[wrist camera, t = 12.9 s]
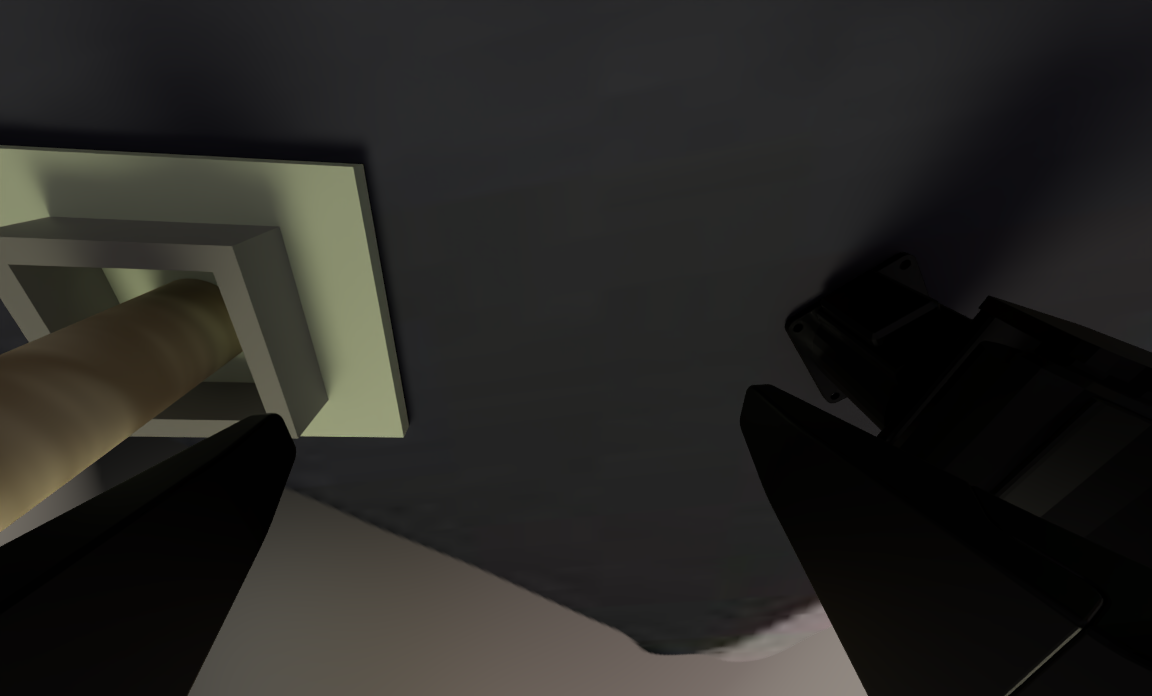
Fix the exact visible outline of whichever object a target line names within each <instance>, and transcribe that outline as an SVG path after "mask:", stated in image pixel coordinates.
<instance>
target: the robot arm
mask: <svg viewBox="0 0 1152 696" xmlns="http://www.w3.org/2000/svg"><path fill="white" fill-rule="evenodd" d="M904 260H905V262H904V264H903V265H902V266H900V264H901V263H902V262H903V261H904ZM979 309H981V310H980V311H979V313H978V314H977V315H976V316H975V318H974V319H973V320H972V319H970V318H968V317H966V316H964V315H962V314H960V313H958V312H956V311H954V310H952V309H950V308H948V307H946V306H944V305H942V304H940V303H939V302H938V301H936V300H934V299H932V298H930V297H929V295H928V292H927V289H926V287H925V284H924V281H923V278H922V275H921V272H920V269H919V266H918V263H917V260H916V258H915V257H914V256H913V255H910V254H908V253H905V252H902V253H898V254H896V255H895V256H893V257H891V258H890V259H888V260H886V261H885V262H883V263H881V264H880V265H878V266H876V267H875V268H873V269H871V270H869V271H867V272H866V273H864V274H862V275H861V276H859V277H857V278H856V279H854V280H852V281H851V282H849V283H847V284H846V285H844V286H842V287H841V288H839V289H837V290H836V291H834V292H832V293H831V294H829V295H827V296H826V297H824V298H823V299H821V300H820V301H818V302H816V303H815V304H813V305H811V306H810V307H808V308H806V309H804V310H803V311H801V312H799V313H798V314H796V315H794V316H793V317H791V318H790V319H789V320H787V322H786V323H785V330H786V332H787V333H788V335H789V337H790V339H791V341H792V342H793V344H794V346H795V348H796V350H797V351H798V353H799V355H800V357H801V358H802V360H803V362H804V364H805V366H806V367H807V369H808V371H809V373H810V375H811V376H812V378H813V380H814V382H815V383H816V385H817V387H818V389H819V391H820V392H821V394H822V396H823V397H824V398H825V399H826V400H827V401H828V402H829V403H836V402H839V401H840V400H842V399H844V398H846V397H848V398H849V399H850V400H851V401H852V402H853V403H854V404H855V405H856V406H857V407H858V408H859V409H860V410H861V411H862V412H863V413H864V414H865V415H866V416H867V417H868V418H869V419H870V420H871V421H872V422H873V423H874V424H875V425H876V426H877V427H878V428H879V429H880V430H882V431H881V432H880V433H879V434H878V436H877V437H876V436H874V435H872V434H870V433H868V432H866V431H864V430H862V429H860V428H858V427H856V426H853V425H851V424H849V423H847V422H845V421H843V420H841V419H839V418H837V417H835V416H833V415H831V414H829V413H827V412H825V411H823V410H821V409H819V408H817V407H815V406H813V405H811V404H809V403H807V402H805V401H803V400H801V399H799V398H797V397H795V396H793V395H791V394H789V393H787V392H785V391H783V390H781V389H779V388H777V387H775V386H773V385H769V384H764V385H751V386H750V387H749V388H748V389H747V391H746V395H745V399H744V403H743V407H742V412H741V416H740V426H741V430H742V433H743V435H744V438H745V441H746V443H747V446H748V449H749V451H750V454H751V457H752V459H753V462H754V464H755V467H756V470H757V472H758V475H759V478H760V480H761V483H762V486H763V488H764V490H765V493H766V495H767V497H768V499H769V502H770V504H771V506H772V508H773V510H774V512H775V514H776V516H777V518H778V520H779V521H780V523H781V525H782V527H783V529H784V531H785V533H786V535H787V537H788V539H789V541H790V543H791V545H792V547H793V549H794V551H795V553H796V555H797V557H798V559H799V561H800V563H801V565H802V567H803V569H804V571H805V573H806V575H807V577H808V579H809V580H810V582H811V584H812V586H813V588H814V590H815V592H816V594H817V596H818V598H819V600H820V602H821V604H822V606H823V608H824V610H825V612H826V614H827V616H828V618H829V620H830V622H831V624H832V626H833V628H834V630H835V632H836V633H837V635H838V638H839V639H840V641H841V643H842V645H843V647H844V649H845V651H846V653H847V655H848V657H849V659H850V661H851V663H852V665H853V667H854V669H855V671H856V673H857V675H858V677H859V679H860V681H861V683H862V685H863V687H864V689H865V690H866V692H867V695H868V696H1152V352H1149V351H1146V350H1144V349H1141V348H1139V347H1136V346H1134V345H1131V344H1128V343H1126V342H1123V341H1121V340H1118V339H1116V338H1113V337H1110V336H1108V335H1105V334H1103V333H1100V332H1098V331H1095V330H1092V329H1090V328H1087V327H1085V326H1082V325H1079V324H1076V323H1073V322H1070V321H1067V320H1064V319H1060V318H1057V317H1054V316H1051V315H1048V314H1045V313H1042V312H1039V311H1036V310H1033V309H1029V308H1026V307H1023V306H1020V305H1017V304H1014V303H1011V302H1008V301H1005V300H1002V299H998V298H995V297H992V296H988V297H987V298H986V299H985V301H984V302H983V303H982V304H981V305H980V307H979ZM796 324H799V326H798V327H797V328H795V329H793V328H794V326H795V325H796ZM833 393H835V394H833ZM832 394H833V395H832ZM295 457H296V447H295V444H294V442H293V439H292V437H291V435H290V433H289V430H288V428H287V426H286V424H285V422H284V419H283V418H282V417H281V416H280V415H279V414H277V413H261V414H253V415H250V416H248V417H246V418H244V419H242V420H240V421H239V422H237V423H235V424H233V425H231V426H229V427H227V428H225V429H223V430H221V431H220V432H218V433H216V434H214V435H212V436H210V437H208V438H206V439H204V440H202V441H201V442H199V443H197V444H195V445H193V446H191V447H189V448H187V449H185V450H183V451H182V452H180V453H178V454H176V455H174V456H172V457H170V458H168V459H167V460H165V461H162V462H161V463H159V464H157V465H155V466H153V467H151V468H149V469H147V470H145V471H143V472H142V473H140V474H138V475H136V476H134V477H132V478H130V479H128V480H126V481H125V482H123V483H121V484H119V485H117V486H115V487H113V488H111V489H109V490H107V491H106V492H103V493H102V494H100V495H98V496H96V497H94V498H92V499H90V500H88V501H86V502H84V503H83V504H81V505H79V506H77V507H75V508H73V509H71V510H69V511H67V512H65V513H63V514H62V515H60V516H58V517H56V518H54V519H52V520H50V521H48V522H46V523H44V524H43V525H41V526H39V527H37V528H35V529H33V530H31V531H29V532H27V533H25V534H23V535H22V536H20V537H18V538H16V539H14V540H12V541H10V542H8V543H6V544H4V545H3V546H1V547H0V696H188V694H189V692H190V690H191V687H192V686H193V684H194V682H195V680H196V677H197V675H198V673H199V671H200V669H201V667H202V665H203V663H204V661H205V659H206V657H207V655H208V653H209V651H210V649H211V647H212V645H213V643H214V641H215V639H216V637H217V635H218V633H219V631H220V629H221V627H222V625H223V623H224V620H225V619H226V617H227V615H228V613H229V611H230V609H231V607H232V605H233V602H234V600H235V598H236V596H237V594H238V592H239V590H240V588H241V586H242V584H243V582H244V580H245V578H246V576H247V574H248V572H249V570H250V568H251V566H252V564H253V562H254V560H255V558H256V556H257V554H258V552H259V550H260V548H261V546H262V543H263V541H264V539H265V537H266V535H267V532H268V530H269V527H270V525H271V523H272V520H273V517H274V515H275V511H276V509H277V506H278V504H279V501H280V498H281V496H282V493H283V490H284V487H285V485H286V482H287V479H288V477H289V474H290V471H291V469H292V466H293V463H294V460H295Z"/></svg>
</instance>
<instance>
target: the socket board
mask: <svg viewBox="0 0 1152 696" xmlns="http://www.w3.org/2000/svg"><path fill="white" fill-rule="evenodd" d="M179 279H199V280H203V281H207V282H210V283H212V284H215V285H217V286H218V287H219V289H220V292H221V295H222V297H223V300H224V303H225V305H226V308H227V310H228V313H229V316H230V318H231V321H232V324H233V326H234V329H235V332H236V334H237V337H238V340H239V342H240V345H241V347H242V350H243V352H241V353H240V354H239V355H237V356H236V357H235V358H233V359H232V360H231V361H229V362H228V363H227V364H225V365H224V366H223V367H221V368H220V369H219V370H217V371H216V372H215V373H213V374H212V375H211V376H209V377H208V378H207V379H205V380H204V381H202V382H201V383H200V384H198V385H197V386H196V387H194V388H193V389H192V390H190V391H189V392H188V393H186V394H185V395H184V396H182V397H181V398H180V399H178V400H177V401H176V402H174V403H173V404H172V405H170V406H169V407H168V408H166V409H165V410H164V411H162V412H161V413H160V414H158V415H157V416H156V417H154V418H153V419H151V420H150V421H149V422H147V423H146V424H145V425H143V426H142V427H141V428H139V429H138V430H137V431H135V432H134V433H133V434H131V435H130V436H151V437H152V436H153V437H210V436H212V435H214V434H216V433H218V432H220V431H221V430H223V429H225V428H227V427H229V426H231V425H233V424H235V423H237V422H239V421H240V420H242V419H244V418H246V417H248V416H250V415H253V414H261V413H277V414H279V415H280V416H281V417H282V418H283V419H284V422H285V424H286V426H287V428H288V430H289V433H290V435H291V437H292V438H299V437H300V436H338V437H404V435H405V433H406V431H407V429H408V427H409V423H408V417H407V411H406V406H405V400H404V394H403V389H402V383H401V377H400V372H399V366H398V360H397V355H396V349H395V343H394V338H393V332H392V326H391V320H390V315H389V309H388V303H387V298H386V292H385V286H384V281H383V275H382V269H381V264H380V258H379V252H378V247H377V241H376V235H375V229H374V224H373V218H372V212H371V207H370V201H369V195H368V190H367V184H366V178H365V173H364V167H363V164H347V163H329V162H310V161H291V160H272V159H253V158H234V157H215V156H197V155H178V154H159V153H140V152H121V151H102V150H83V149H65V148H46V147H27V146H8V145H0V298H1V300H2V301H3V303H4V305H5V306H6V308H7V309H8V311H9V312H10V314H11V315H12V317H13V318H14V320H15V321H16V323H17V324H18V326H19V327H20V329H21V331H22V332H23V334H24V335H25V337H26V338H27V340H28V341H29V343H30V342H32V341H34V340H37V339H39V338H41V337H44V336H46V335H48V334H51V333H53V332H55V331H58V330H60V329H62V328H65V327H67V326H69V325H72V324H74V323H76V322H79V321H81V320H83V319H86V318H88V317H90V316H93V315H95V314H97V313H100V312H102V311H104V310H107V309H109V308H112V307H114V306H116V305H119V304H121V303H123V302H126V301H128V300H130V299H133V298H135V297H137V296H140V295H142V294H144V293H147V292H149V291H151V290H154V289H156V288H158V287H161V286H163V285H165V284H168V283H170V282H172V281H175V280H179Z"/></svg>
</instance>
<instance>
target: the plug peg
mask: <svg viewBox="0 0 1152 696" xmlns="http://www.w3.org/2000/svg"><path fill="white" fill-rule="evenodd" d="M241 352H243V350H242V347H241V345H240V342H239V340H238V337H237V334H236V332H235V329H234V326H233V324H232V321H231V318H230V316H229V313H228V310H227V308H226V305H225V303H224V300H223V297H222V295H221V292H220V289H219V287H218V286H217V285H215V284H212V283H210V282H207V281H203V280H199V279H179V280H175V281H172V282H170V283H168V284H165V285H163V286H161V287H158V288H156V289H154V290H151V291H149V292H147V293H144V294H142V295H140V296H137V297H135V298H133V299H130V300H128V301H126V302H123V303H121V304H119V305H116V306H114V307H112V308H109V309H107V310H104V311H102V312H100V313H97V314H95V315H93V316H90V317H88V318H86V319H83V320H81V321H79V322H76V323H74V324H72V325H69V326H67V327H65V328H62V329H60V330H58V331H55V332H53V333H51V334H48V335H46V336H44V337H41V338H39V339H37V340H34V341H32V342H30V343H27V344H25V345H22V346H20V347H18V348H15V349H13V350H11V351H8V352H6V353H4V354H1V355H0V532H1V531H3V530H4V529H5V528H7V527H8V526H9V525H11V524H12V523H13V522H15V521H16V520H17V519H19V518H20V517H21V516H22V515H24V514H25V513H27V512H28V511H29V510H31V509H32V508H33V507H35V506H36V505H37V504H39V503H40V502H41V501H43V500H44V499H45V498H47V497H48V496H49V495H51V494H52V493H54V492H55V491H56V490H57V489H59V488H60V487H62V486H63V485H64V484H66V483H67V482H68V481H70V480H71V479H72V478H74V477H75V476H76V475H78V474H79V473H80V472H82V471H83V470H84V469H86V468H87V467H88V466H90V465H91V464H92V463H94V462H95V461H96V460H98V459H99V458H101V456H103V455H105V454H106V453H107V452H109V451H110V450H111V449H112V448H114V447H115V446H117V445H118V444H119V443H121V442H122V441H123V440H124V439H126V438H127V437H129V436H130V435H131V434H133V433H134V432H135V431H137V430H138V429H139V428H141V427H142V426H143V425H145V424H146V423H147V422H149V421H150V420H151V419H153V418H154V417H156V416H157V415H158V414H160V413H161V412H162V411H164V410H165V409H166V408H168V407H169V406H170V405H172V404H173V403H174V402H176V401H177V400H178V399H180V398H181V397H182V396H184V395H185V394H186V393H188V392H189V391H190V390H192V389H193V388H194V387H196V386H197V385H198V384H200V383H201V382H202V381H204V380H205V379H207V378H208V377H209V376H211V375H212V374H213V373H215V372H216V371H217V370H219V369H220V368H221V367H223V366H224V365H225V364H227V363H228V362H229V361H231V360H232V359H233V358H235V357H236V356H237V355H239V354H240V353H241Z"/></svg>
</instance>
